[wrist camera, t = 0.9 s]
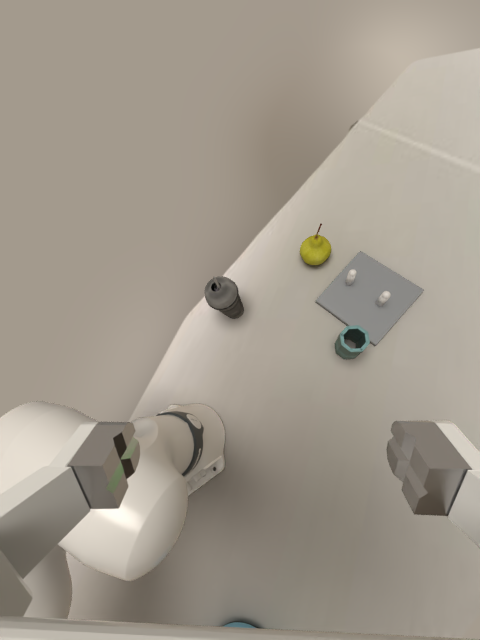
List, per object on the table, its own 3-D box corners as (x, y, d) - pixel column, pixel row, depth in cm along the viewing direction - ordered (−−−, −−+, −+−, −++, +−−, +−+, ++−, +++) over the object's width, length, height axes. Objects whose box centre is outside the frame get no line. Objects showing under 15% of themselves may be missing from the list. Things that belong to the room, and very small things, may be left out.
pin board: (374, 346, 59) (383, 339, 52) (315, 302, 64) (316, 291, 57) (421, 292, 59) (436, 278, 53) (359, 253, 65) (365, 236, 58)
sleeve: (349, 363, 59) (357, 357, 49) (330, 348, 61) (334, 339, 51) (364, 346, 59) (375, 337, 50) (345, 332, 61) (352, 320, 51)
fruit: (315, 275, 66) (316, 250, 55) (294, 259, 68) (292, 232, 57) (335, 256, 66) (341, 227, 55) (314, 240, 69) (315, 209, 57)
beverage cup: (225, 294, 70) (195, 257, 52) (251, 298, 68) (231, 261, 50) (218, 321, 69) (185, 292, 50) (245, 326, 67) (221, 298, 48)
